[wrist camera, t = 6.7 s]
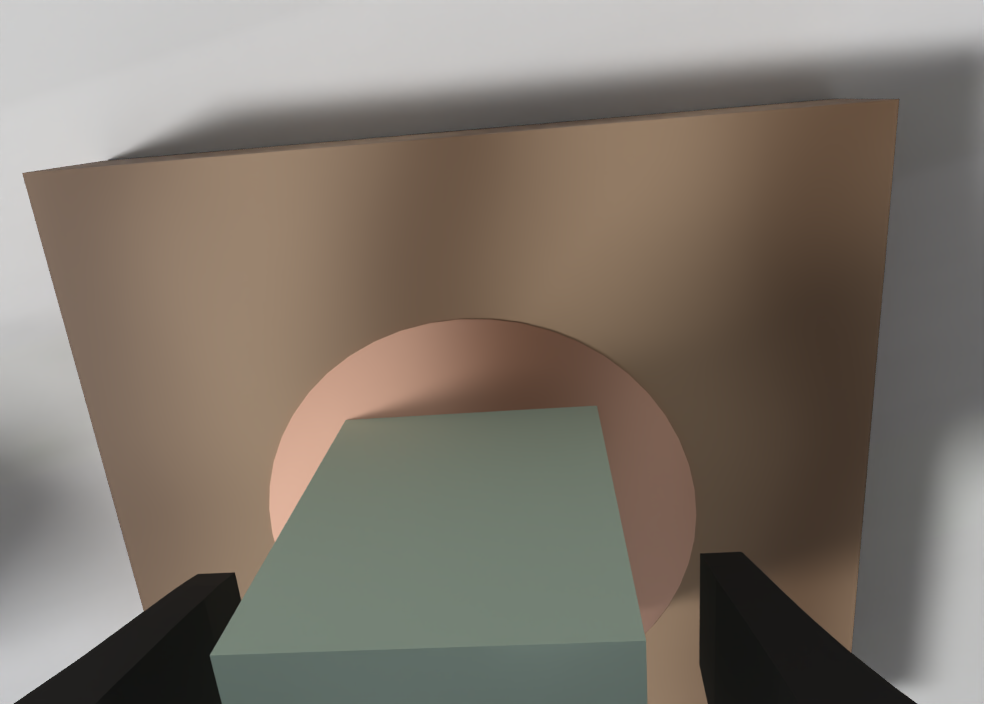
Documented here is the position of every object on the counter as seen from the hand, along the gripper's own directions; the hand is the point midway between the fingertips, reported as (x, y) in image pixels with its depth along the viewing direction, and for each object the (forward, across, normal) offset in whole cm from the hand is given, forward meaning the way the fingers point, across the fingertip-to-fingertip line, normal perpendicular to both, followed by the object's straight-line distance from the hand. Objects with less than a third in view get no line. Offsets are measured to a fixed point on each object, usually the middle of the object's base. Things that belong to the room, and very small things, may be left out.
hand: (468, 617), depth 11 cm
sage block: (+3, 0, 0) cm, 3 cm away
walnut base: (+5, 0, 0) cm, 5 cm away
